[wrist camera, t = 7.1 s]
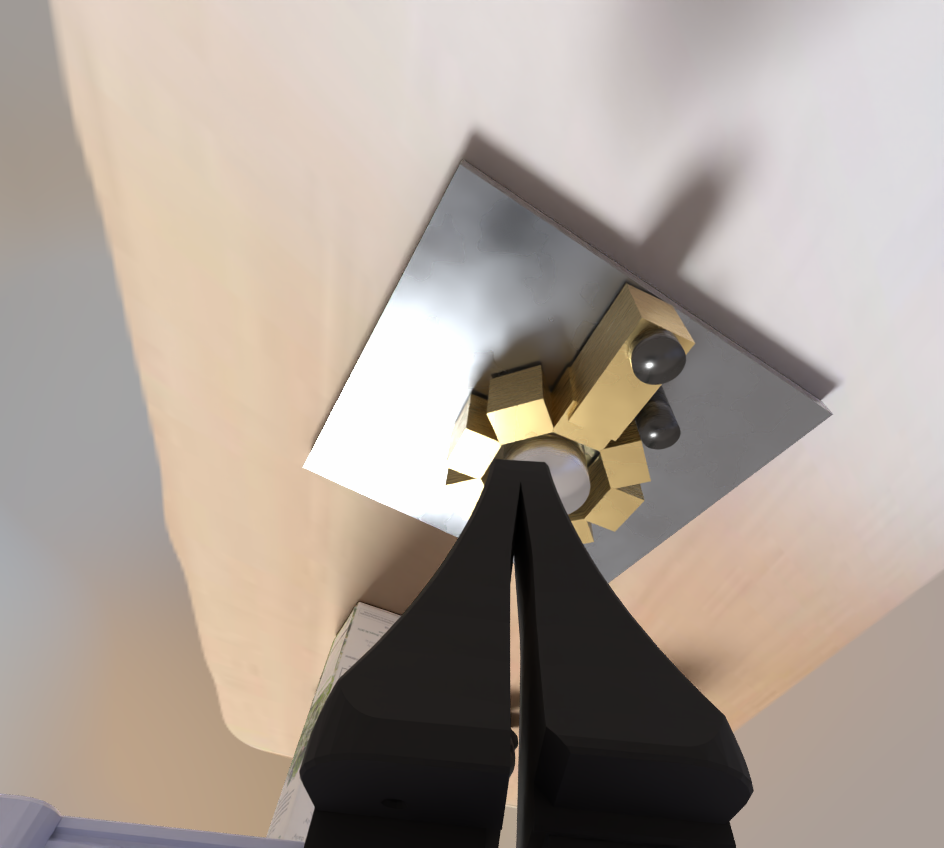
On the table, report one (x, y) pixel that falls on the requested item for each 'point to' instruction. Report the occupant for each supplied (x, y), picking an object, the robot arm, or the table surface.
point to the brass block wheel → (580, 410)
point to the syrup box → (344, 653)
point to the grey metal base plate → (554, 348)
